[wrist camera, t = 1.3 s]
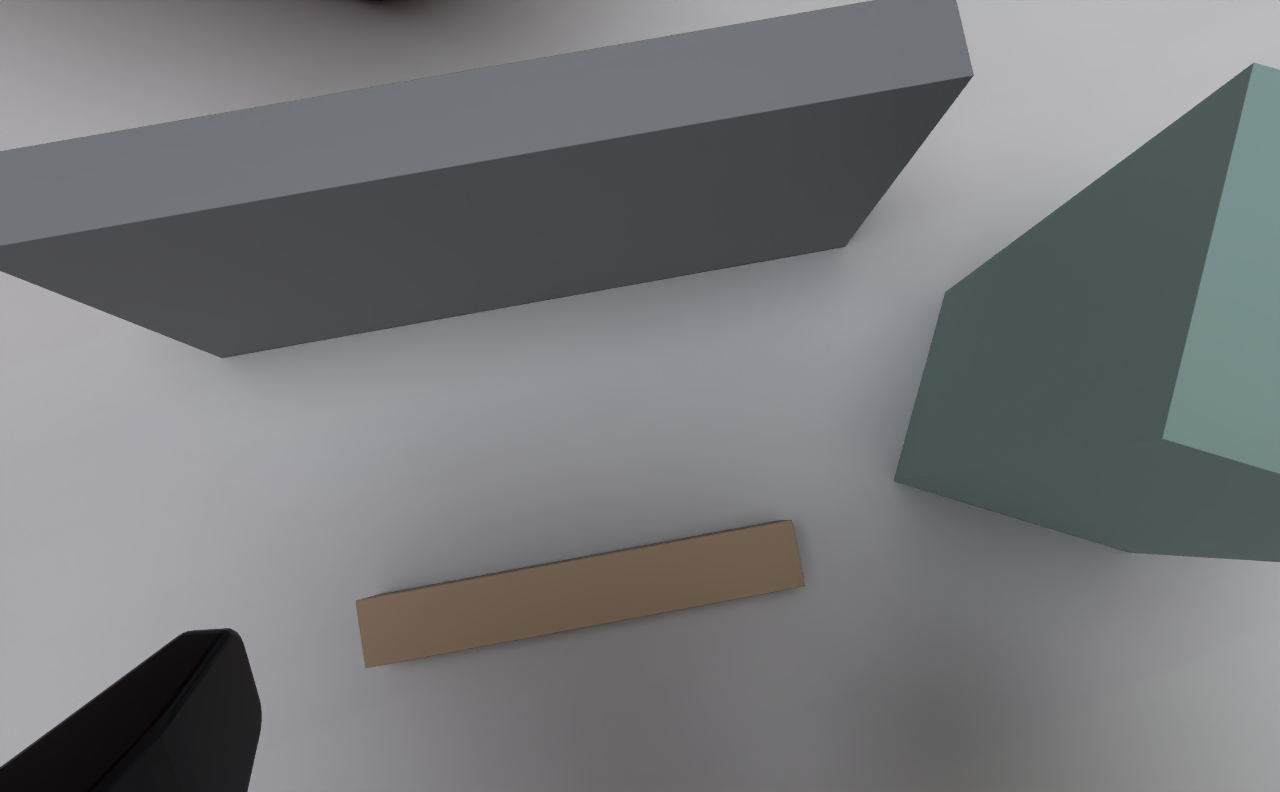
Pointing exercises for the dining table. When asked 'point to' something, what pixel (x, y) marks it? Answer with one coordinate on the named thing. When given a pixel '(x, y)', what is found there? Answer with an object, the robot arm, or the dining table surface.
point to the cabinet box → (1127, 351)
